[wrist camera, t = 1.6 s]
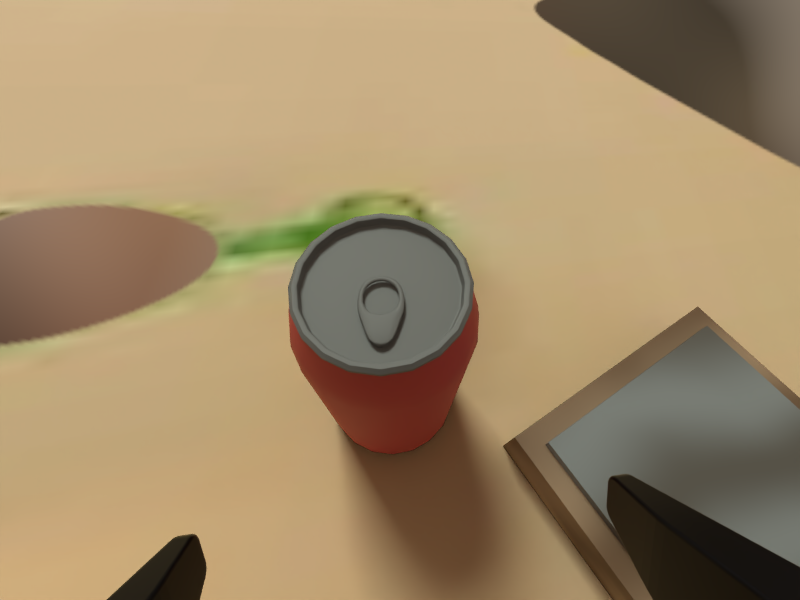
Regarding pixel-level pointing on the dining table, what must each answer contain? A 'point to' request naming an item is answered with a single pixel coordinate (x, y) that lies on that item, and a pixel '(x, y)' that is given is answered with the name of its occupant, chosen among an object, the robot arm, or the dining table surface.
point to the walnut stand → (672, 446)
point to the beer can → (384, 327)
